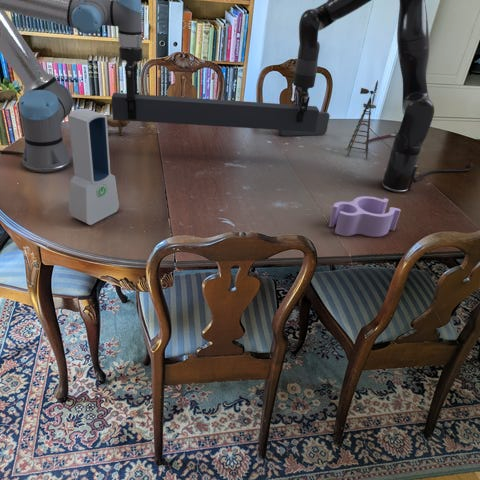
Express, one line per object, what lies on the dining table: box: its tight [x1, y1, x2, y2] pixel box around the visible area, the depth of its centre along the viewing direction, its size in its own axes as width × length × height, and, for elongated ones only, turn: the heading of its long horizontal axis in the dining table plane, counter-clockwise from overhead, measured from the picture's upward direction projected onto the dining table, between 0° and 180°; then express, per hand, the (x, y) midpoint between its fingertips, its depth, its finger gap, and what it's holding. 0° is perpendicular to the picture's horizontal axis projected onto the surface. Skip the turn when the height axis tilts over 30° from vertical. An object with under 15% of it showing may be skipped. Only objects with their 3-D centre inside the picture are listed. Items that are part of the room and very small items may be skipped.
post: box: [111, 92, 320, 132], centre depth 168 cm, size 73×5×8 cm, turn 95°
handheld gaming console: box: [277, 111, 331, 137], centre depth 205 cm, size 23×3×10 cm, turn 108°
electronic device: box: [67, 108, 120, 226], centre depth 127 cm, size 12×8×30 cm, turn 148°
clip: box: [328, 195, 401, 238], centre depth 141 cm, size 20×12×7 cm, turn 109°
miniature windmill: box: [346, 80, 379, 160], centre depth 186 cm, size 9×8×30 cm
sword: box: [368, 132, 397, 143], centre depth 214 cm, size 31×3×1 cm, turn 126°
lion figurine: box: [107, 116, 131, 136], centre depth 186 cm, size 15×5×9 cm, turn 110°
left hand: (133, 116), depth 166 cm, fingers closed on post, 5 cm apart
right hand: (298, 119), depth 172 cm, fingers closed on post, 5 cm apart
